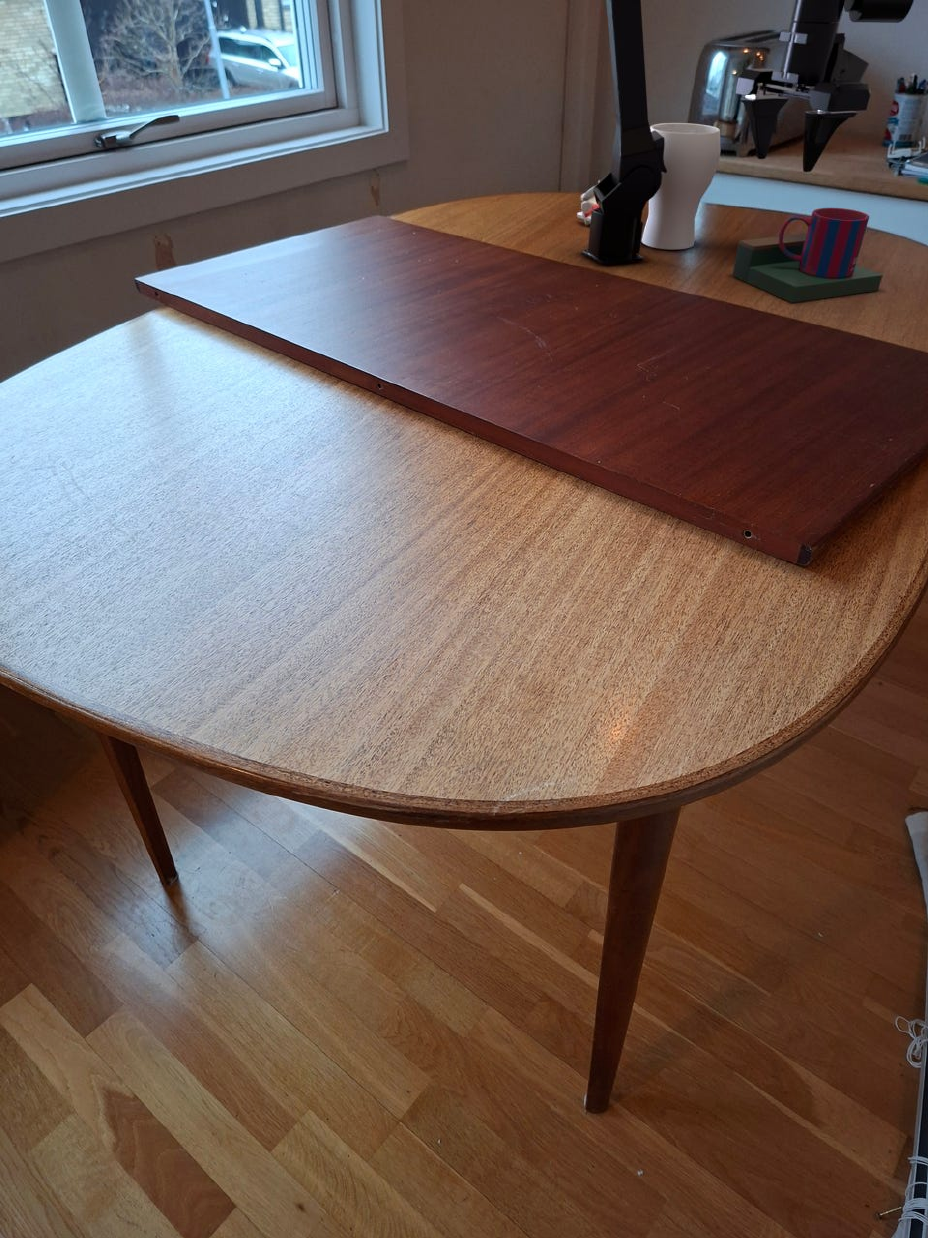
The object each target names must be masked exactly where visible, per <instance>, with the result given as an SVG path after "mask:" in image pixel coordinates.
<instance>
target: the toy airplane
mask: <svg viewBox="0 0 928 1238" xmlns="http://www.w3.org/2000/svg"><path fill="white" fill-rule="evenodd" d="M600 181H601V180H598V182H597V184H598V183H599V182H600ZM595 186H596V185H593V186H592V187H591V188H589V189H588V190H586V192H584V193H582V194H581V195H580V201H582V202H581V204H580V209H581V211H579V212H577V213H576V215H577V218H578V219H581V220H583V221H584V224H585V225H586V226H590V223H591V212H592V210H593V209H597V208H599V205H598V204H597V203H596V200H595V195H594V191H593V188H594V187H595Z"/></svg>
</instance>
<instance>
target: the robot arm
mask: <svg viewBox="0 0 928 1238" xmlns="http://www.w3.org/2000/svg"><path fill="white" fill-rule="evenodd" d="M605 1H606V13H607V26H608V38H609V49H610V61H611V62H610V63H611V74H612V87H613V99H614V110H615V131H614V137H613V143H612V149H611V150H612V152H611V164H610V165H611V166H610V171H609V172H608V173H607V174H606V175H605V176H604V177H602V179H601V180H599V181H600V182H599V181H598V182H599V183H598V182H597V183H596V185H594V186H595V187H594V188H593V191H594V195H595V200H596V203H597V204H598V205H599V208H597V209H593V210H592V212H591V223H590V224H589V235H588V242H587V243H588V244H587V249H581V255H583V256H585V257H587V258H589V259H590V260H592V261H595V262H596V263H597V264H600V265H603V266H610V265H611V266H612V265H618V264H627V263H628V264H629V263H636V262H637V263H638V262H642V261H643V259H644V256H641V255H640V251H641V243H642V236H643V230H644V229H643V228H644V222H643V221H642V218H643V210H644V208H645V206H646V204H647V202H649V200H650V199H651V198H652V197H654V195H655V194H656V193H657V191H658V190H659V189H660V186H661V183H662V172H664V173H667V169H666V167H665V165H664V147H665V138H664V137H663V136H661V135H660V134H659V133H658V132H657V131H655V130H654V131H652V132H651V129H650V127H651V126H650V122H649V112H648V98H647V97H648V96H647V95H648V94H647V79H646V78H647V77H646V64H645V63H646V62H645V48H644V47H645V45H644V31H643V15H642V13H643V12H642V0H605ZM793 3H794V4H793V9H792V13H791V19H790V23H789V27H788V30H781V31H780V34H779V39H778V40H779V42H785V47H784V52H783V57H782V61H781V67H780V68H775V67H766V68H765V67H763V68H760V67H759V68H745V69H744V70H743V71H742V72H741V74H740V75H739V76H738V78H737V81H736V82H737V83H736V89H735V94H736V95H742V97H740V103H743V106H744V109H745V112H746V116H747V119H748V123H749V126H750V131H751V134H752V140H753V144H754V148H755V154H756V157H757V160H765V159H766V158H767V156H768V153H769V149H770V146H771V143H772V140H773V139H772V138H773V134H774V130H775V126H776V123H777V120H778V119H777V118H778V115H779V113H780V111H782V110H783V107H784V106H785V105H786V104H787V103H788V101H789V98H788V97H783V96H779V95H784V96H789V97H794V98H800V99H804V100H808V101H809V104H810V108H811V109H812V110H805V113H804V114H805V115H804V131H803V132H804V133H803V148H802V149H803V150H802V172H804V173H810V172H812V171H813V169H814V167H815V166H816V164H817V162H818V161H819V159H820V157H821V155H822V154H823V152H824V150H825V148H826V147H827V146H828V143H829V141H830V140H831V138H832V137H833V135H834V134H835V132H836V131H837V130H838V128H839V127H840V126H842V125H843V124H844V123H845V122H846V121H847V120H849V119H850V118H856V116H857V115H858V114H859V112H860V111H867V109H868V105H869V101H870V98H871V94H872V90H871V88H870V86H869V83H868V82H863V81H862V80H863V78H864V76H865V73H866V72H867V70H868V68H869V65H870V63H869V62H867V61H866V60H864V59H863V58H862V57H859V56H858V55H856V54H854V53H853V52H851V51H849V50H846V49H845V42H846V36H845V35H846V33H845V32H840V31H839V28H840V23H841V19H842V16H843V11H844V12H846V13H848V16H849V17H848V18H849V20H850V22H852V23H880V24H881V23H884V24H885V23H886V24H891V23H892V24H898V23H901V22H903V21H904V20H905V19H906V18H907V16H908V14H909V13H910V11H911V9H912V7H913V4H914V3H915V0H794V2H793ZM794 85H796V86H795V87H794Z"/></svg>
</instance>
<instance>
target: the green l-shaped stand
mask: <svg viewBox="0 0 928 1238" xmlns="http://www.w3.org/2000/svg"><path fill="white" fill-rule="evenodd" d="M806 235H807V232H804V233H796V234H785V235H783V244H784V246H785V248H786V249H787V250H788V251H789V252H790V253H792V254H795V255H801V254H802V251H803V247H804V243H805V239H806ZM735 256H736V257H735V261H734V266H733V269H732V270H733V271H732V277H734V278H736V279H738V280H740V281H743V282H745V283H747V284H749V285H752V286H754V287H756V288H758V289H760V290H762V291H764V292H767V293H769V294H771V295H773V296H776V297H778V298H780V299H782V300H784V301H786V302H789V303H790V304H795V303H801V302H808V301H815V300H822V299H828V298H829V299H830V298H835V297H843V296H850V295H855V294H856V295H858V294H864V293H865V294H866V293H871V292H877V291H879V289H880V285H881V283H882V279H883V274H882V273H878V272H876V271H874V270H871V269H868V268H866V267H862V266H860V265H857V264H856V266H855V269H854V273H853V274H852V275H851V276H849V277H846V278H823V277H817V276H812V275H809V274H806V273H804V272H802V271H801V270H800V269H799V264H800V262H799V261H796V260H793V259H791V258H789V257H788V256H786V255H785V254H784V253H783V251H782V250H781V248H780V246H779V235H778V236H777V235H776V236H769V237H760V238H751V239H742V240H739V241H738V246H737V251H736V255H735Z"/></svg>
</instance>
